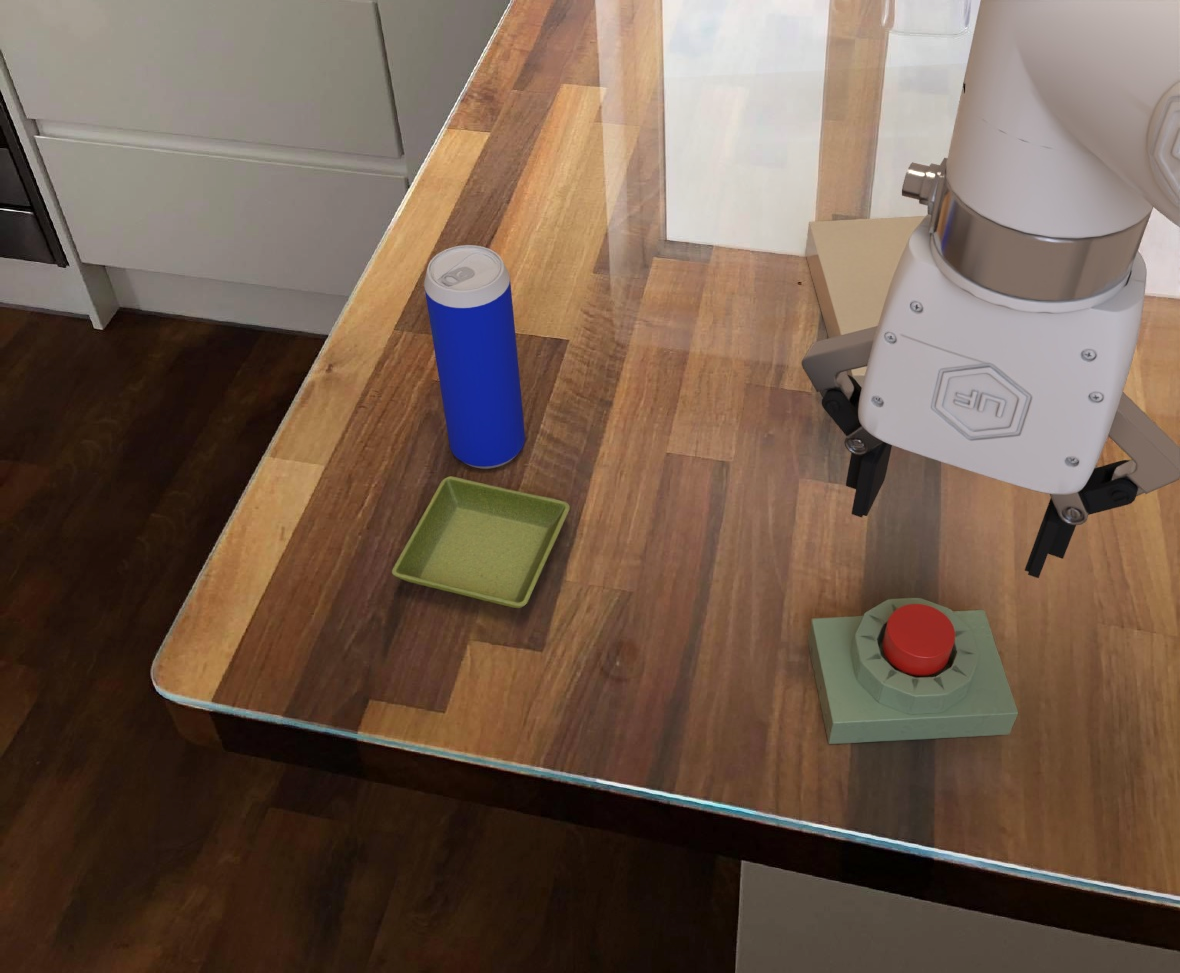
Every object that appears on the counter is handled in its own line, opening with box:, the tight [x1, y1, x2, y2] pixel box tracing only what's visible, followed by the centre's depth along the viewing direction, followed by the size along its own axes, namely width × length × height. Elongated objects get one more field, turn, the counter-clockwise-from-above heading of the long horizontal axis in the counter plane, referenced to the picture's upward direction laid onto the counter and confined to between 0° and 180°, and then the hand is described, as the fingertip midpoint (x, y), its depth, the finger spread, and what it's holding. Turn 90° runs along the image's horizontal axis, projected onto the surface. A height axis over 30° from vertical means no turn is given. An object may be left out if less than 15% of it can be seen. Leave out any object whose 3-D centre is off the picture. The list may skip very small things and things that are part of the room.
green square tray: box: [391, 475, 571, 609], centre depth 76 cm, size 9×9×2 cm
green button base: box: [807, 597, 1019, 745], centre depth 68 cm, size 10×7×4 cm
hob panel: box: [804, 215, 927, 388], centre depth 90 cm, size 14×20×3 cm
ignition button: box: [883, 604, 955, 676], centre depth 66 cm, size 4×4×2 cm
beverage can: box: [423, 244, 526, 470], centre depth 78 cm, size 5×5×15 cm
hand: (951, 524), depth 59 cm, fingers open, 7 cm apart
